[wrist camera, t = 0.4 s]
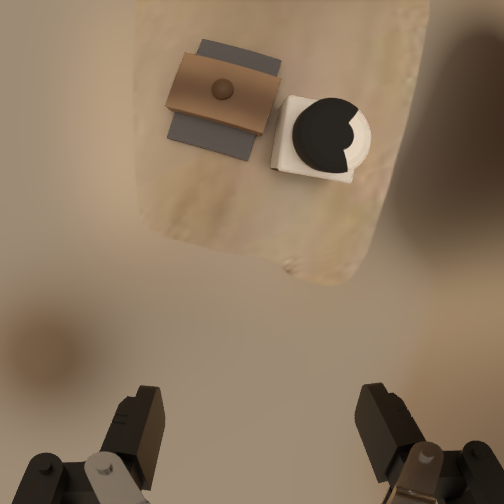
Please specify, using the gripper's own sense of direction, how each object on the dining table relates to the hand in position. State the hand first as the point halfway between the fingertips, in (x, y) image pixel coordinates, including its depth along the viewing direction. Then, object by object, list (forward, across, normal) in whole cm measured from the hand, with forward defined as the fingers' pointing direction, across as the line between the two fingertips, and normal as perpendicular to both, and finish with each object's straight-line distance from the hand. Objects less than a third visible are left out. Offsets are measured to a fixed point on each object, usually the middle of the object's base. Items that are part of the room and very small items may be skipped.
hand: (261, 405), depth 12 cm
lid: (+25, +3, -16) cm, 30 cm away
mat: (+26, +3, -16) cm, 31 cm away
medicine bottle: (+27, -6, -11) cm, 29 cm away
